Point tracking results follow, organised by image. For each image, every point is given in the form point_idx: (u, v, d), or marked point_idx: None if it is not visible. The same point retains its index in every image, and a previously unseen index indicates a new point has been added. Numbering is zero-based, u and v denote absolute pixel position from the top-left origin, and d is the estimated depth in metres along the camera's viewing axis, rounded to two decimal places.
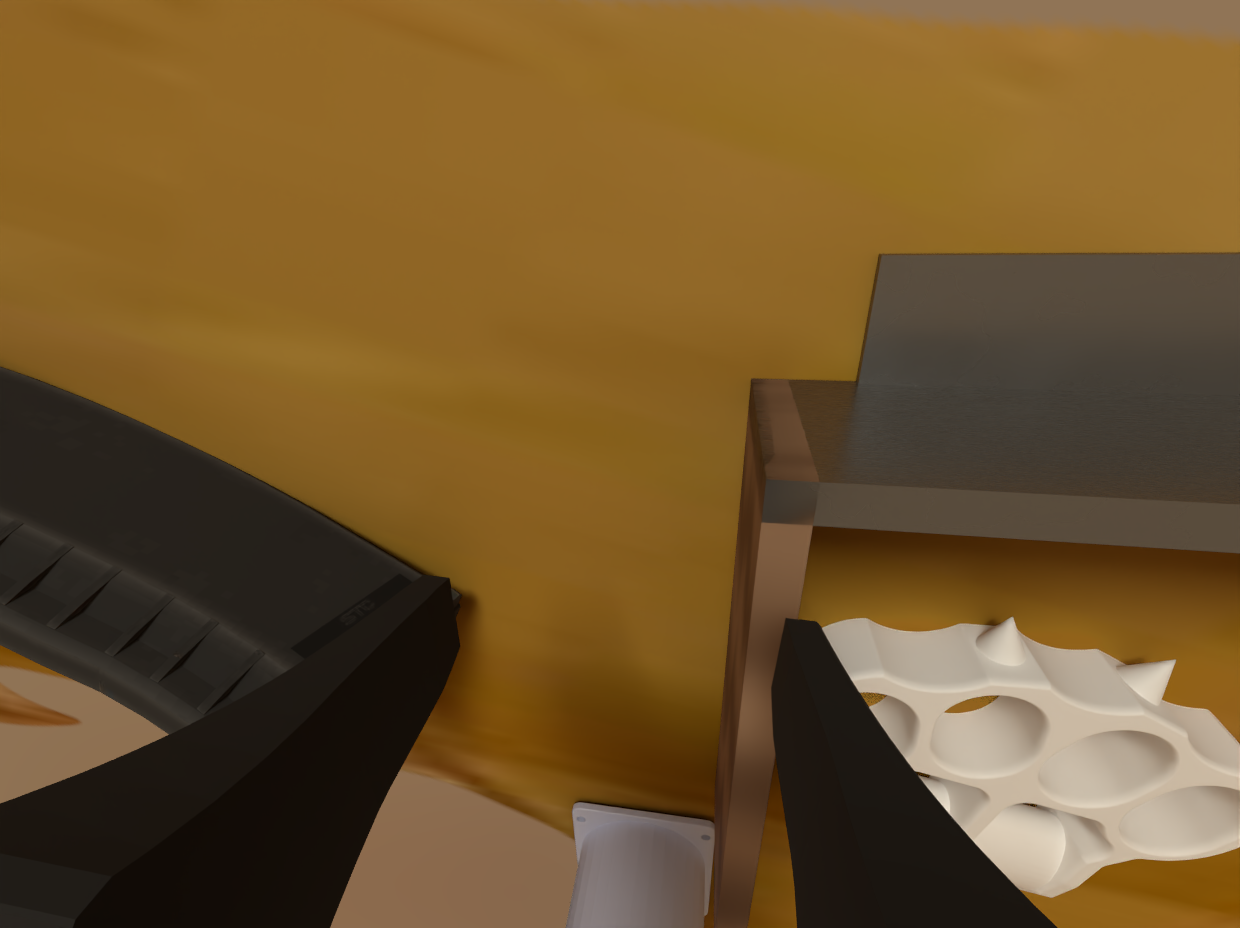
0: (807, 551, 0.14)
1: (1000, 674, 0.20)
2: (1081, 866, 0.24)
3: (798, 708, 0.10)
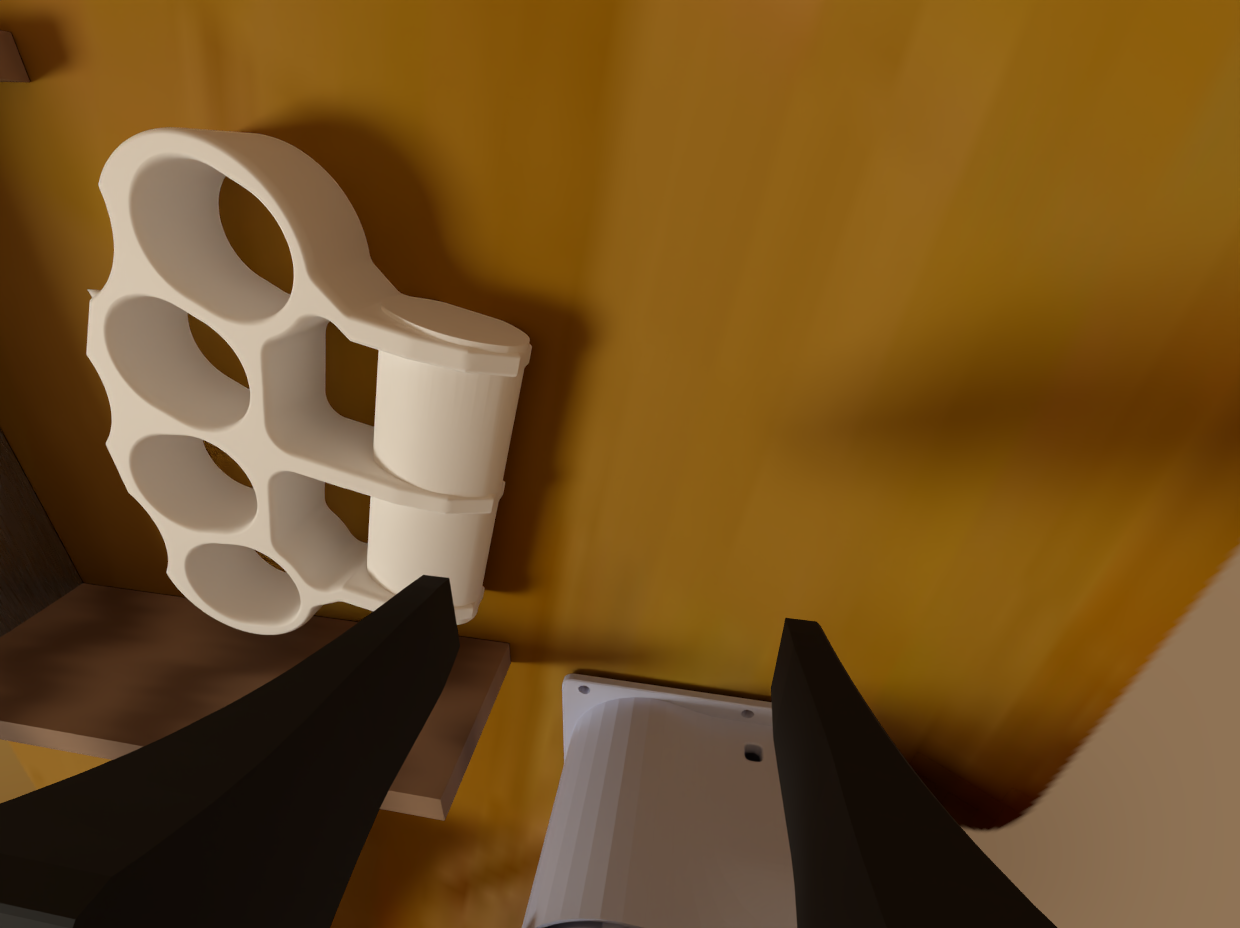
0: None
1: None
2: (361, 342, 0.16)
3: (798, 708, 0.10)
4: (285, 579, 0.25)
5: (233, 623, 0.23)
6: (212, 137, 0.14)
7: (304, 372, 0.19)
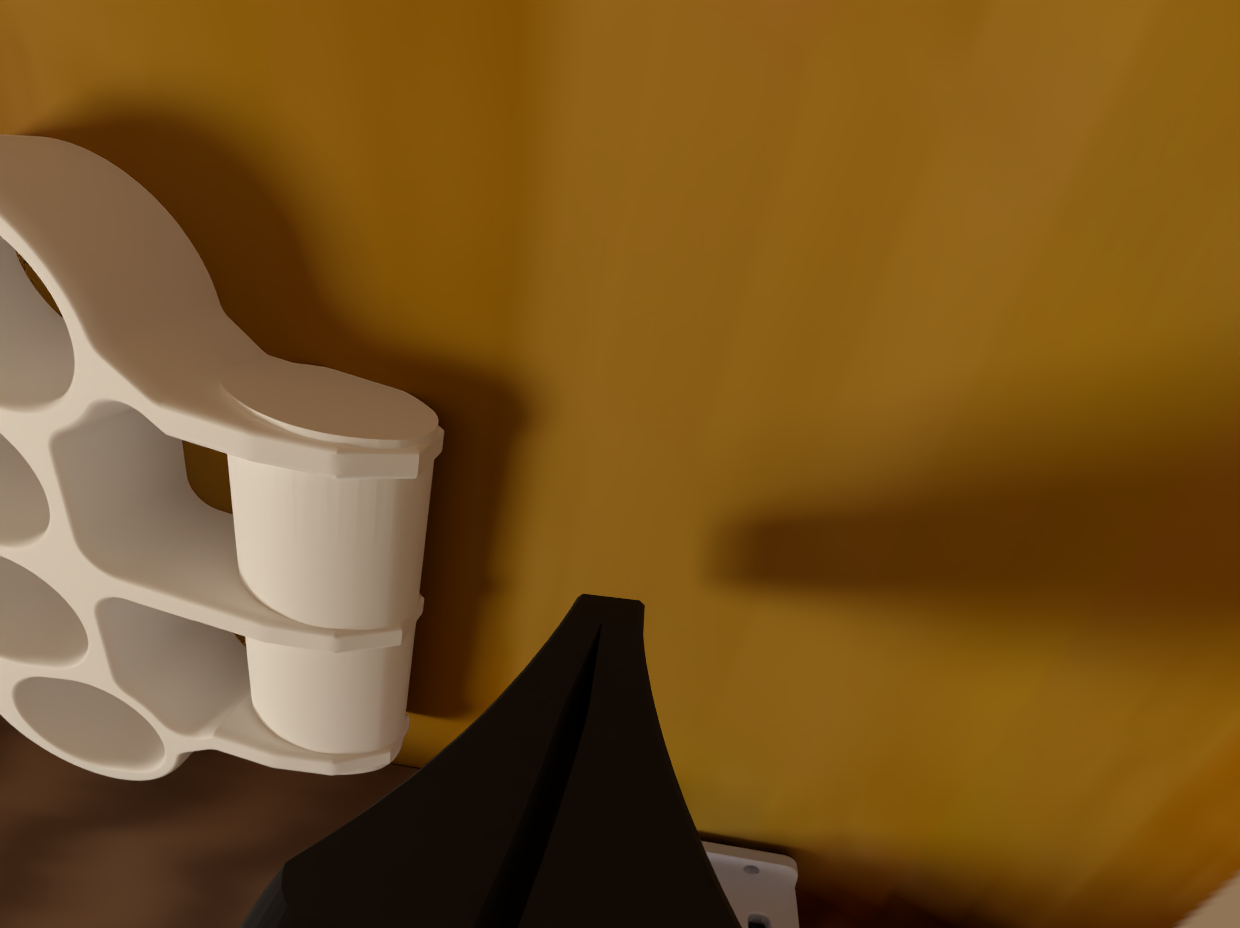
0: None
1: None
2: (183, 438, 0.11)
3: None
4: None
5: (87, 765, 0.18)
6: None
7: (142, 461, 0.14)
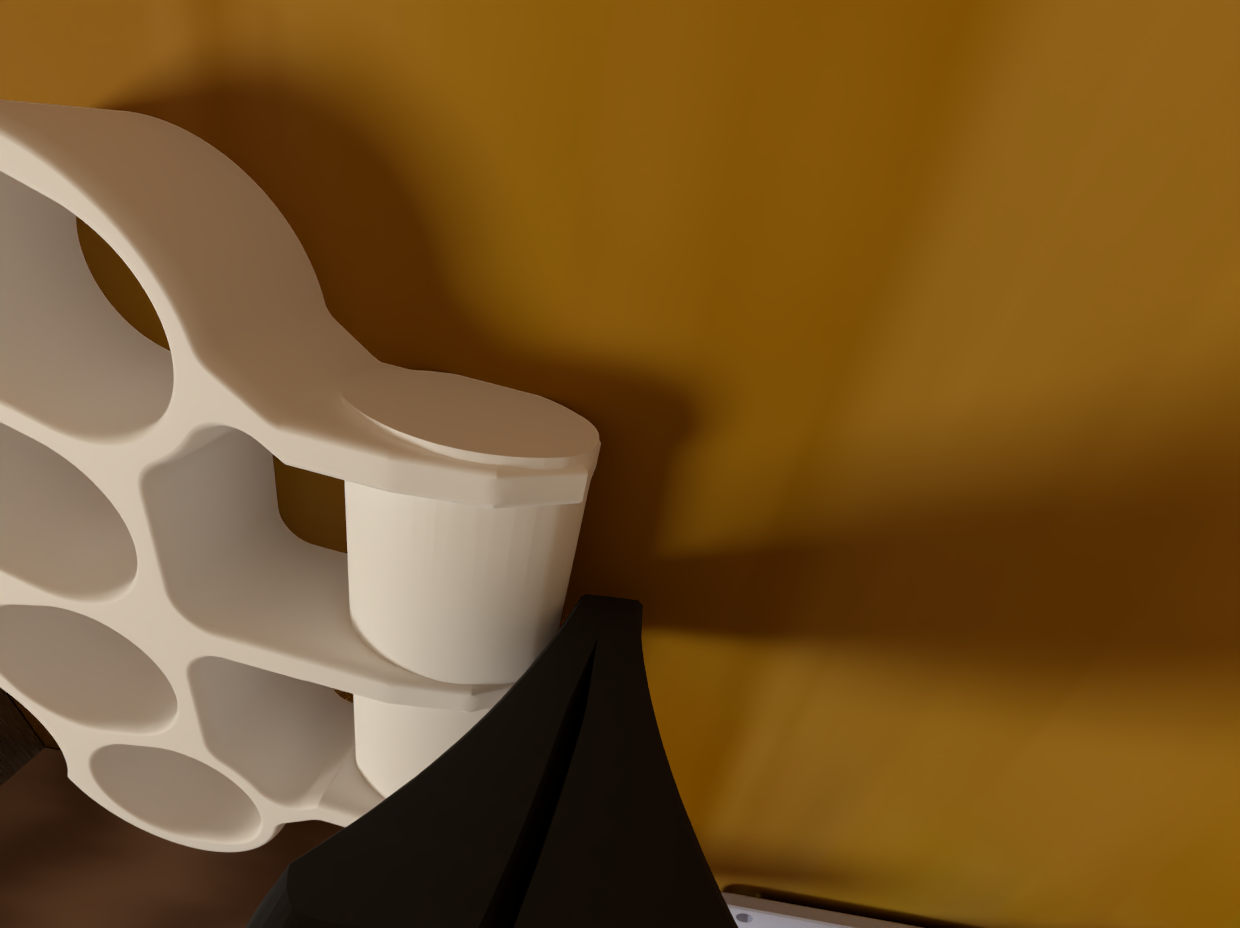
0: None
1: None
2: (306, 467, 0.09)
3: None
4: None
5: (171, 837, 0.16)
6: None
7: (234, 494, 0.12)
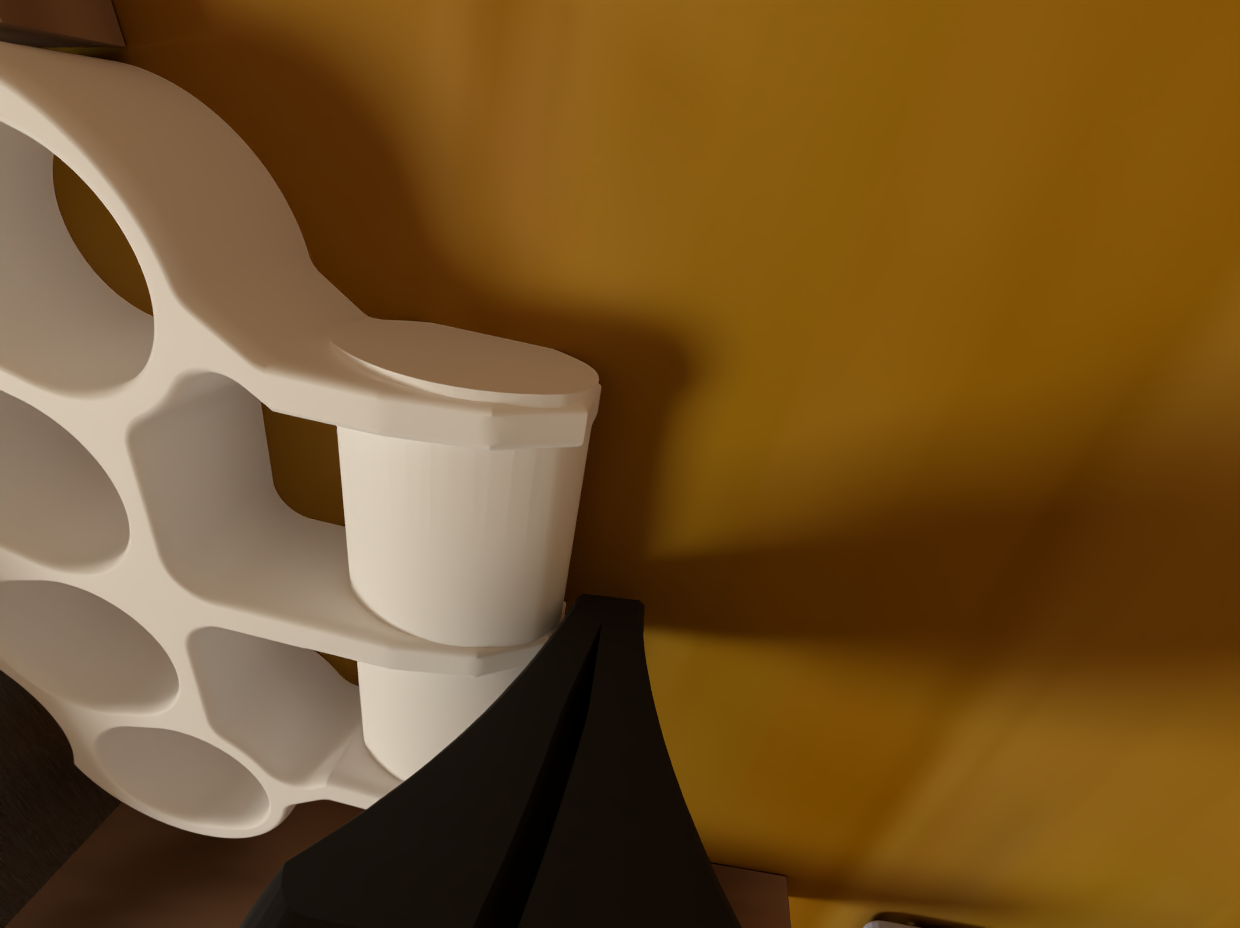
0: None
1: None
2: (294, 413, 0.09)
3: None
4: None
5: (180, 824, 0.15)
6: None
7: (228, 460, 0.11)
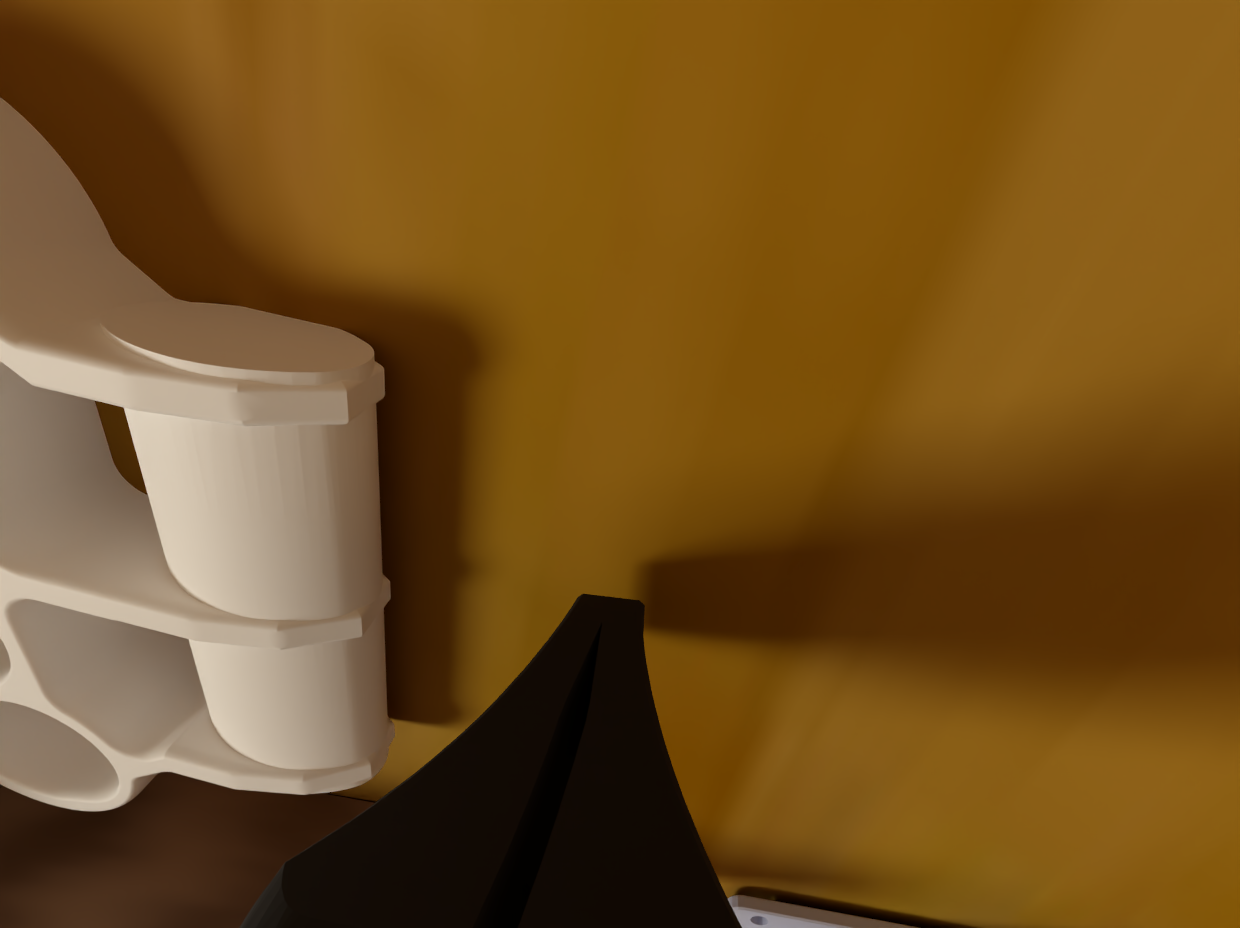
0: None
1: None
2: (53, 387, 0.09)
3: None
4: None
5: (41, 797, 0.16)
6: None
7: (46, 438, 0.12)
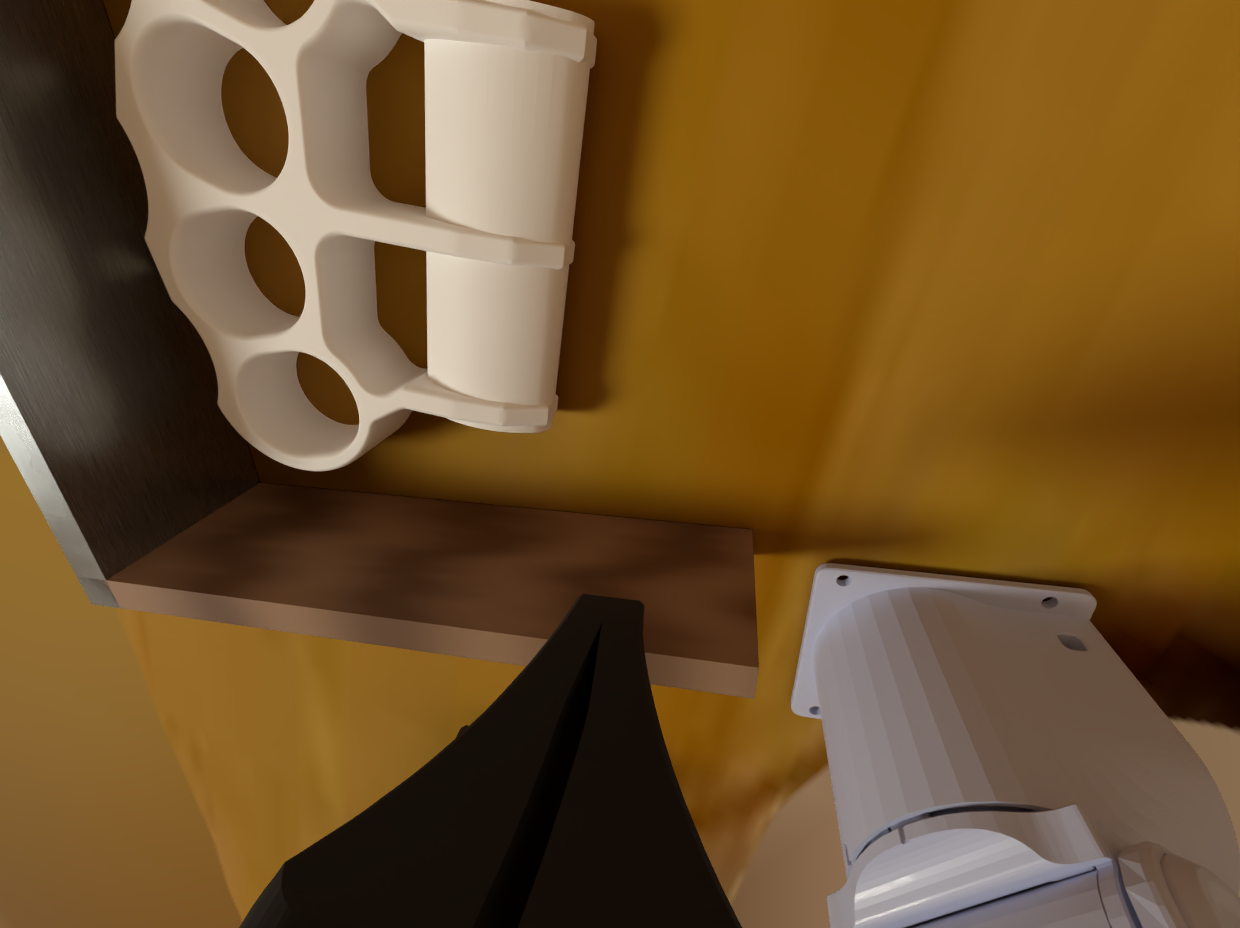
0: (124, 583, 0.19)
1: None
2: (405, 23, 0.14)
3: None
4: (342, 428, 0.23)
5: (290, 460, 0.21)
6: None
7: (346, 126, 0.17)
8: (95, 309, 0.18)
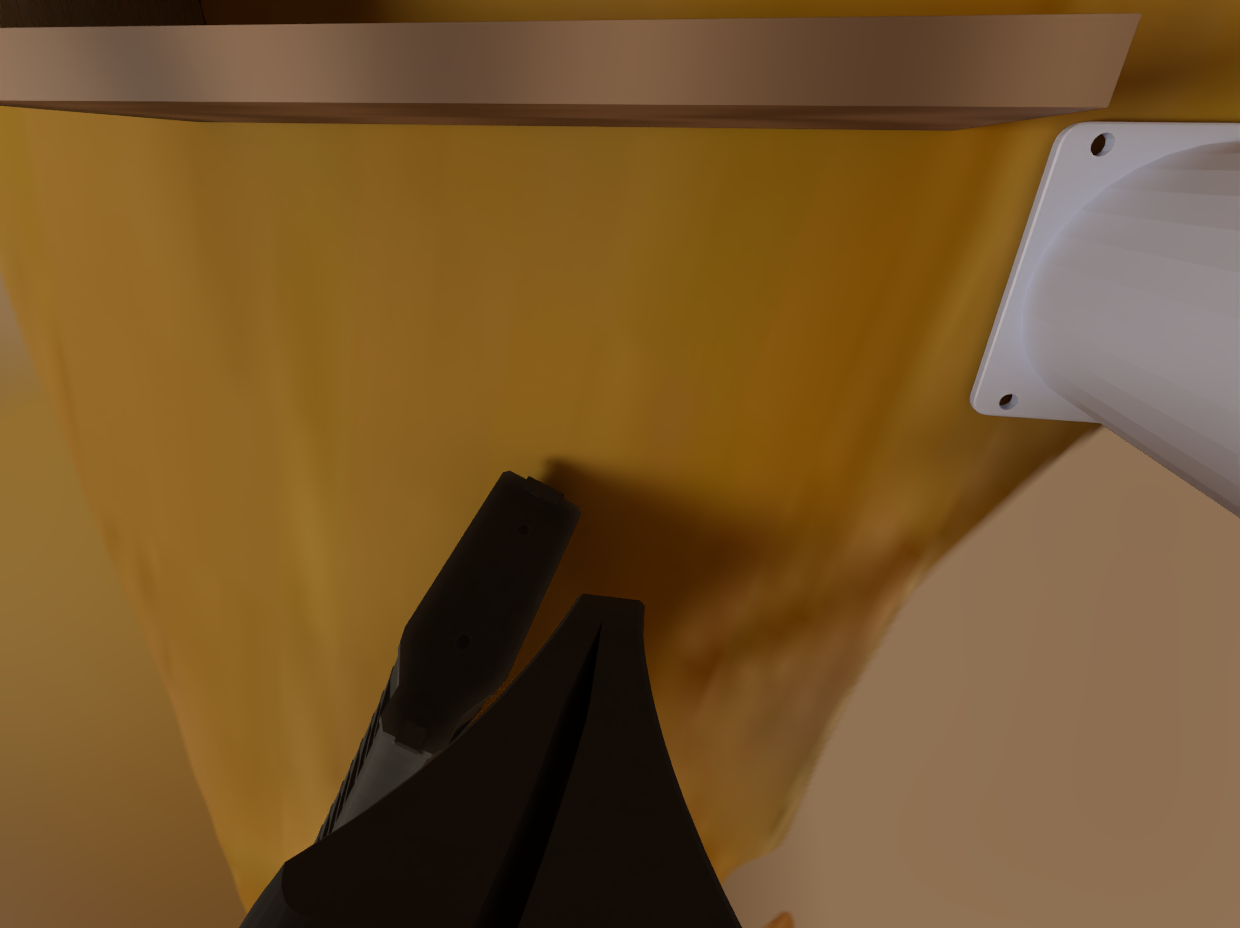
0: None
1: None
2: None
3: None
4: None
5: None
6: None
7: None
8: None
